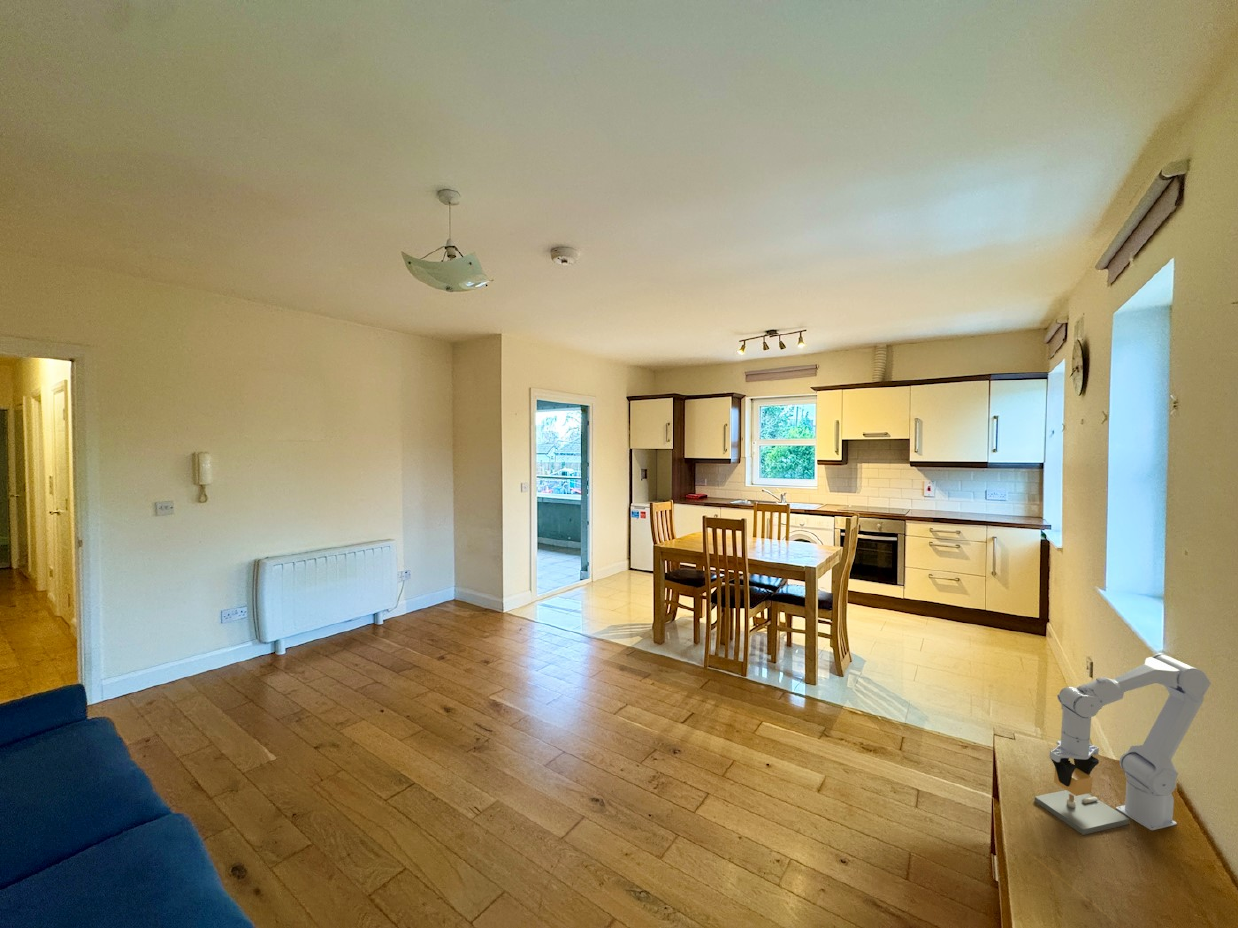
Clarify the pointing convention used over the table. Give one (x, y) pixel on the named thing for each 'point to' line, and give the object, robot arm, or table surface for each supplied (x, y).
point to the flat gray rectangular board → (1081, 811)
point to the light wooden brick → (1077, 783)
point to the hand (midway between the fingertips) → (1072, 781)
